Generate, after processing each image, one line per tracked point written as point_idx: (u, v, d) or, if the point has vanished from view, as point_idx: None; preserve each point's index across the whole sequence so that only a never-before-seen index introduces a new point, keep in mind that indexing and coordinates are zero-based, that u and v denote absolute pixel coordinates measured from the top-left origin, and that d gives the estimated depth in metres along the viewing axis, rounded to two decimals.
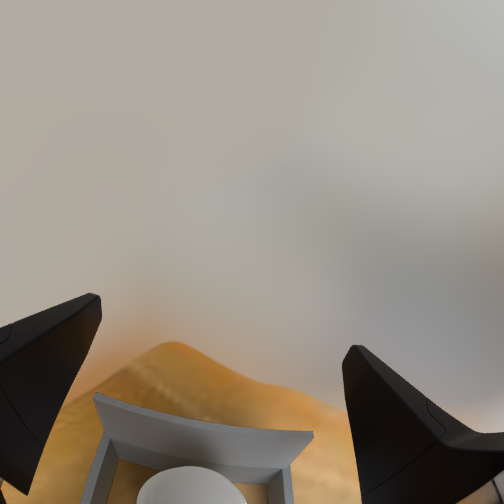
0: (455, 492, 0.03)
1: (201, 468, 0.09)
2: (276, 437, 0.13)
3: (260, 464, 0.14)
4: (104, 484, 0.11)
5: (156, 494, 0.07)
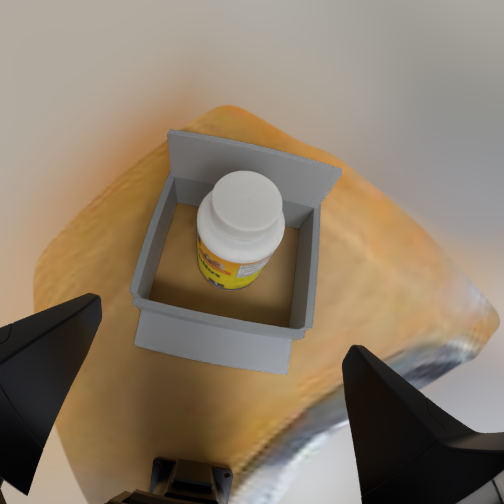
0: (455, 492, 0.03)
1: (254, 172, 0.16)
2: (312, 165, 0.18)
3: (297, 199, 0.22)
4: (165, 224, 0.22)
5: (218, 191, 0.15)
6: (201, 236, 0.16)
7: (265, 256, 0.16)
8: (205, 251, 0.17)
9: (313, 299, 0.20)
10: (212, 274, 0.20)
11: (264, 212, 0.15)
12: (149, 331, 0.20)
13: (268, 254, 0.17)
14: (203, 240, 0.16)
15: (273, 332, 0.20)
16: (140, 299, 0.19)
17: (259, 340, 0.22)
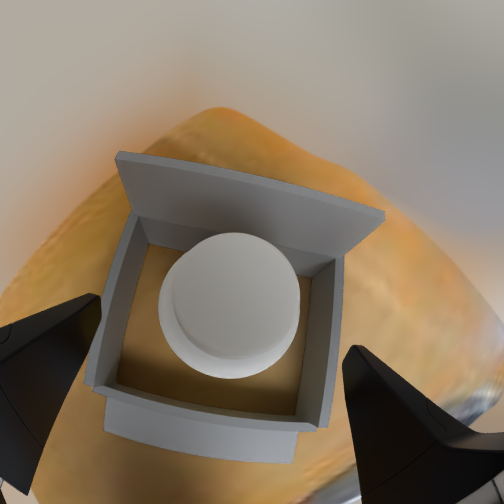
0: (455, 492, 0.03)
1: (249, 236, 0.09)
2: (343, 208, 0.12)
3: (313, 247, 0.16)
4: (130, 280, 0.16)
5: (183, 279, 0.08)
6: (165, 338, 0.09)
7: (268, 367, 0.10)
8: None
9: (331, 391, 0.13)
10: None
11: (267, 319, 0.08)
12: (120, 416, 0.14)
13: (272, 363, 0.10)
14: (169, 344, 0.09)
15: (276, 429, 0.13)
16: (102, 387, 0.12)
17: (258, 429, 0.15)
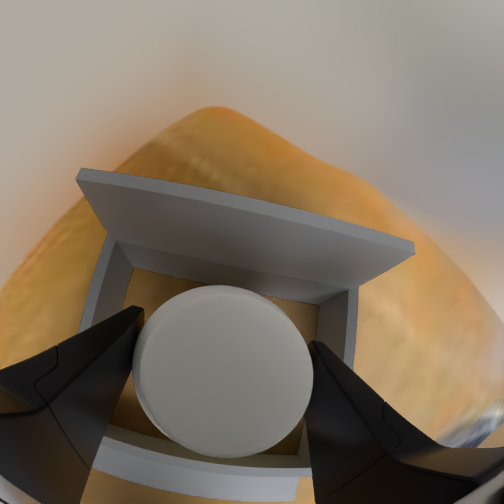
0: None
1: (245, 298, 0.06)
2: (367, 241, 0.09)
3: (323, 279, 0.13)
4: (110, 313, 0.13)
5: (153, 362, 0.05)
6: None
7: None
8: None
9: None
10: None
11: (268, 412, 0.05)
12: (108, 455, 0.11)
13: None
14: None
15: (277, 475, 0.11)
16: None
17: None
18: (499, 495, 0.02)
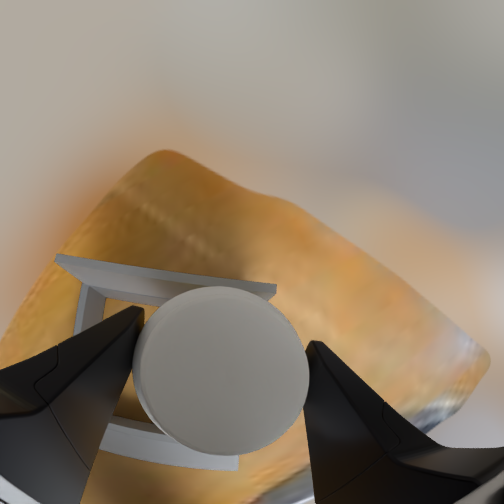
0: None
1: (242, 299, 0.06)
2: None
3: None
4: None
5: (152, 362, 0.05)
6: None
7: None
8: None
9: None
10: None
11: (265, 411, 0.05)
12: None
13: None
14: (148, 414, 0.07)
15: None
16: None
17: None
18: (499, 495, 0.02)
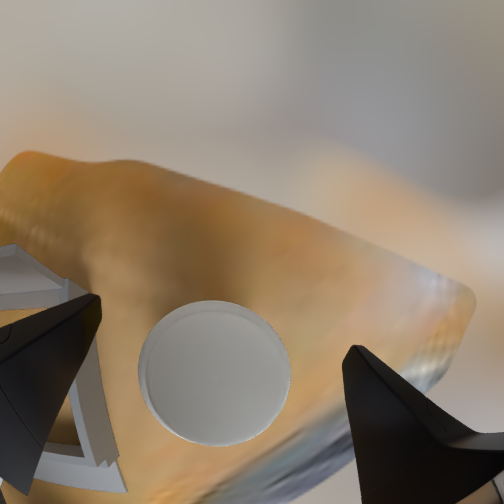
0: (455, 492, 0.03)
1: (231, 315, 0.07)
2: None
3: (31, 288, 0.11)
4: None
5: (156, 367, 0.06)
6: (147, 405, 0.08)
7: None
8: None
9: (84, 432, 0.10)
10: None
11: (249, 410, 0.06)
12: None
13: None
14: (151, 411, 0.08)
15: (73, 463, 0.10)
16: None
17: None
18: None
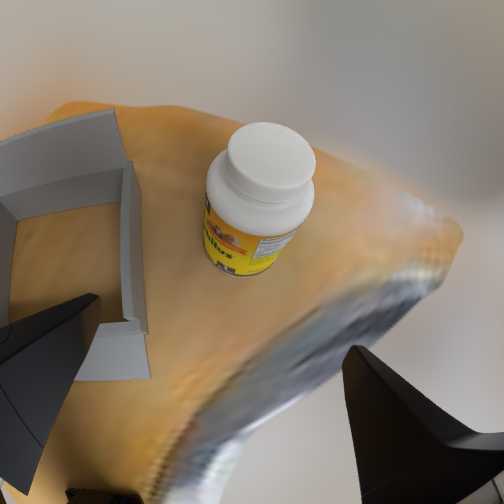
0: (455, 492, 0.03)
1: None
2: (77, 121, 0.12)
3: (98, 166, 0.16)
4: (2, 246, 0.15)
5: (235, 141, 0.11)
6: (212, 201, 0.13)
7: (292, 227, 0.13)
8: (216, 222, 0.14)
9: (128, 278, 0.14)
10: (221, 256, 0.16)
11: (294, 167, 0.11)
12: None
13: (296, 225, 0.13)
14: (214, 206, 0.13)
15: (102, 331, 0.14)
16: None
17: (106, 343, 0.16)
18: None
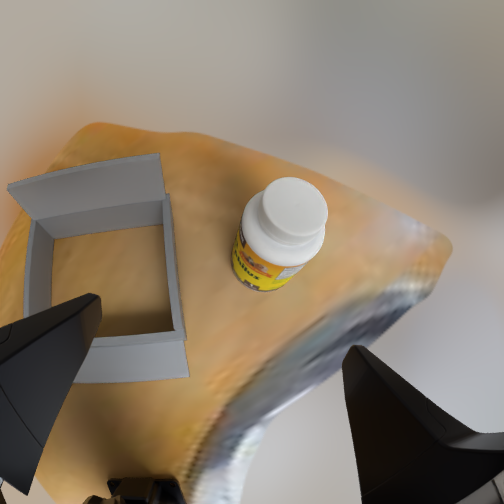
0: (455, 492, 0.03)
1: (299, 179, 0.16)
2: (126, 163, 0.16)
3: (140, 198, 0.20)
4: (43, 264, 0.19)
5: (268, 196, 0.15)
6: (248, 240, 0.17)
7: (308, 259, 0.17)
8: (249, 254, 0.18)
9: (176, 297, 0.18)
10: (249, 277, 0.21)
11: (312, 217, 0.15)
12: None
13: (311, 257, 0.17)
14: (250, 244, 0.17)
15: (152, 340, 0.18)
16: None
17: (151, 349, 0.20)
18: None
